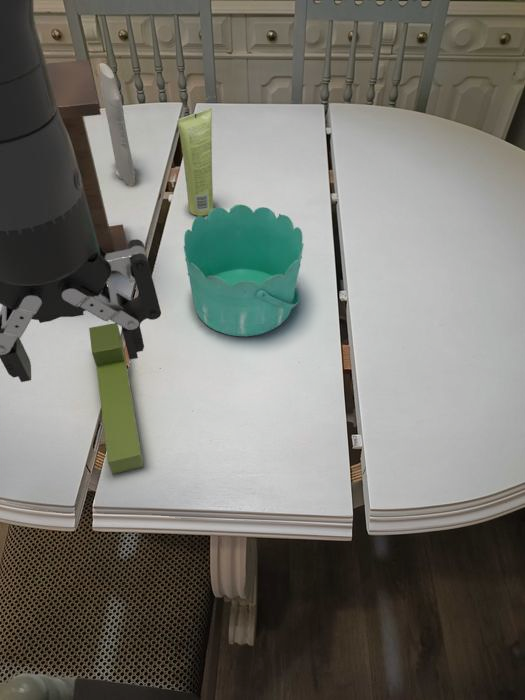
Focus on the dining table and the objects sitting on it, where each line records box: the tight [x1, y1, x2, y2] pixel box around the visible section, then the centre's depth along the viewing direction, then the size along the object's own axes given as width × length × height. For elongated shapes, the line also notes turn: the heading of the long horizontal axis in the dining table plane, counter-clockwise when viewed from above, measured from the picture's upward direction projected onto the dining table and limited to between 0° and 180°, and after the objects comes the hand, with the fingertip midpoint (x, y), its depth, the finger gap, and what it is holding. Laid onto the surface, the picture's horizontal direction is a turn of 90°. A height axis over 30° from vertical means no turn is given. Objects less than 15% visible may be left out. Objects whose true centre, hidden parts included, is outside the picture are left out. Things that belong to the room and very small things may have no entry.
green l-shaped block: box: [88, 322, 144, 475], centre depth 73 cm, size 4×21×6 cm, turn 17°
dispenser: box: [99, 62, 137, 187], centre depth 107 cm, size 11×4×22 cm, turn 25°
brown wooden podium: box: [46, 59, 128, 274], centre depth 83 cm, size 12×19×32 cm, turn 17°
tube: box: [177, 107, 214, 217], centre depth 100 cm, size 6×5×20 cm
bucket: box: [183, 204, 305, 337], centre depth 85 cm, size 19×18×13 cm
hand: (80, 362), depth 44 cm, fingers open, 8 cm apart
